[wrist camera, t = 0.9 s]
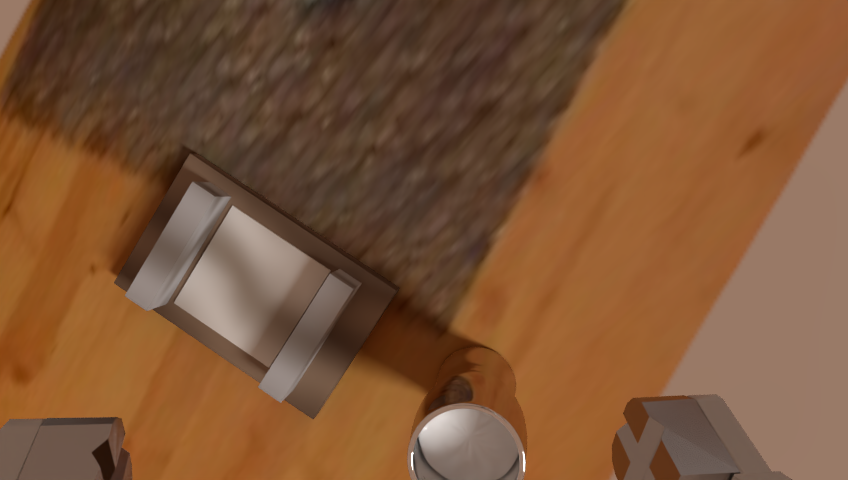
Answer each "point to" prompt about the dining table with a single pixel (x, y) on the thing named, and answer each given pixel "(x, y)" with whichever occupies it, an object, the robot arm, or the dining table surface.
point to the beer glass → (470, 422)
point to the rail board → (255, 285)
